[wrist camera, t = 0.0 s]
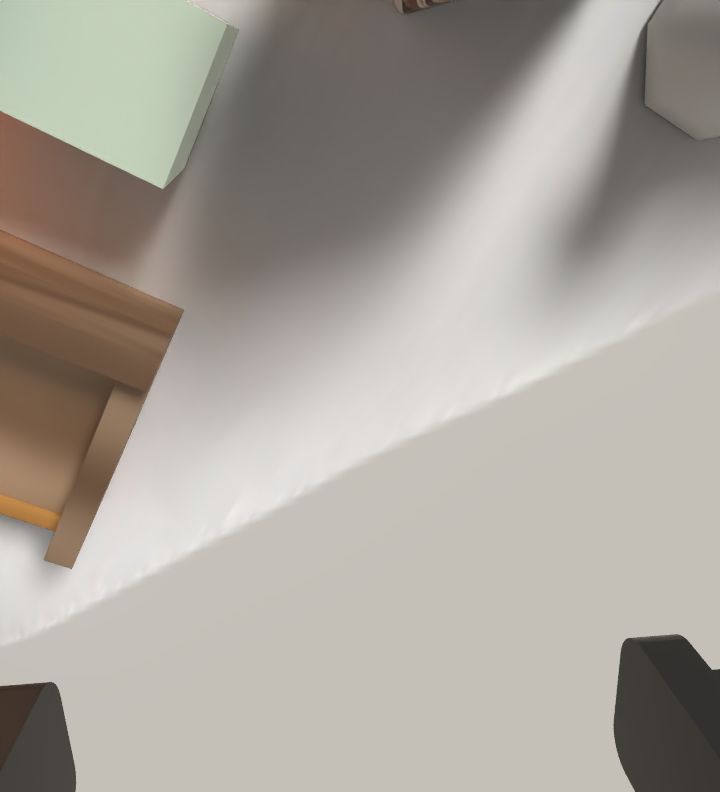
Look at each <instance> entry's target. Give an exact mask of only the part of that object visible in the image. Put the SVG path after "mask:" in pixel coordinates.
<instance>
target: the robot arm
mask: <svg viewBox="0 0 720 792" xmlns="http://www.w3.org/2000/svg"><path fill="white" fill-rule="evenodd" d="M614 737H615V743H616V748H617V751H618V756H619V758H620V762H621V764H622V767H623V769H624V771H625V773H626V775H627V777H628V779H629V781H630V783H631V785H632V786H633V788H634V790H635V792H720V669H718V670H711V668H710V667H709V666H708V665H707V663H706V662H705V661H704V660H703V659H702V658H701V656H700V655H699V654H698V652H697V651H696V650H695V649H694V648H693V646H692V645H691V644H690V643H689V642H688V640H687V639H686V638H684V637H683V636H681V635H677V634H675V635H663V636H650V637H637V638H628V639H626V640H625V641H624V643H623V645H622V648H621V655H620V665H619V675H618V685H617V695H616V705H615V715H614ZM75 790H76V772H75V766H74V760H73V755H72V751H71V746H70V741H69V736H68V731H67V726H66V721H65V716H64V711H63V706H62V702H61V697H60V693H59V690H58V687H57V686H56V684H54V683H52V682H47V683H34V684H22V685H9V686H0V792H75Z"/></svg>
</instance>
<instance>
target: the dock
mask: <svg viewBox="0 0 720 792" xmlns="http://www.w3.org/2000/svg"><path fill="white" fill-rule="evenodd" d="M183 311H184V310H182V309H180V308H177V307H175V306H173V305H170V304H168V303H166V302H164V301H161V300H159V299H157V298H154V297H152V296H150V295H148V294H145V293H143V292H141V291H138V290H136V289H134V288H132V287H129V286H127V285H125V284H122V283H120V282H118V281H116V280H113V279H111V278H109V277H106V276H104V275H102V274H99V273H97V272H95V271H93V270H90V269H88V268H86V267H83V266H81V265H79V264H77V263H74V262H72V261H70V260H67V259H65V258H63V257H61V256H58V255H56V254H54V253H51V252H49V251H47V250H44V249H42V248H40V247H38V246H35V245H33V244H31V243H28V242H26V241H24V240H22V239H19V238H17V237H15V236H12V235H10V234H8V233H6V232H3V231H1V230H0V513H1V514H4V515H7V516H10V517H13V518H16V519H19V520H22V521H25V522H28V523H31V524H34V525H37V526H40V527H44V528H47V529H50V530H53V531H55V533H54V536H53V538H52V540H51V543H50V545H49V548H48V550H47V553H46V555H45V558H44V560H45V561H48V562H51V563H55V564H58V565H61V566H64V567H67V568H70V569H72V567H73V565H74V563H75V561H76V558H77V556H78V554H79V551H80V549H81V547H82V545H83V542H84V540H85V538H86V536H87V533H88V531H89V529H90V527H91V524H92V522H93V520H94V517H95V515H96V513H97V511H98V508H99V506H100V504H101V502H102V499H103V497H104V495H105V492H106V490H107V488H108V485H109V483H110V481H111V478H112V476H113V474H114V471H115V469H116V467H117V464H118V462H119V460H120V457H121V455H122V453H123V450H124V448H125V446H126V443H127V441H128V439H129V436H130V434H131V432H132V429H133V427H134V425H135V423H136V420H137V418H138V416H139V413H140V411H141V409H142V406H143V404H144V402H145V399H146V397H147V395H148V392H149V390H150V388H151V385H152V383H153V381H154V378H155V376H156V374H157V371H158V369H159V367H160V364H161V362H162V360H163V357H164V355H165V353H166V350H167V348H168V346H169V343H170V341H171V339H172V337H173V334H174V332H175V330H176V327H177V325H178V323H179V320H180V318H181V316H182V313H183Z"/></svg>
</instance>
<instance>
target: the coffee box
mask: <svg viewBox="0 0 720 792" xmlns="http://www.w3.org/2000/svg"><path fill="white" fill-rule="evenodd" d="M451 1H454V0H394V3H395V6H396V8H397V10H398V11H399V13H401V14H409V13H412V12H416V11H419V10H423V9H427V8H430V7H434V6H437V5H441V4H445V3H448V2H451Z"/></svg>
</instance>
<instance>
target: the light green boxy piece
mask: <svg viewBox="0 0 720 792" xmlns="http://www.w3.org/2000/svg"><path fill="white" fill-rule="evenodd" d="M238 31H239V29H237V28H235V27H234V26H232V25H230V24H228V23H227V22H225V21H223V20H221V19H219V18H218V17H216V16H214V15H212V14H211V13H209V12H207V11H205V10H203V9H202V8H200V7H198V6H196V5H195V4H193V3H191V2H189V1H188V0H0V111H2V112H4V113H6V114H8V115H10V116H12V117H14V118H16V119H18V120H20V121H22V122H24V123H27V124H29V125H31V126H33V127H35V128H37V129H39V130H41V131H43V132H45V133H47V134H49V135H51V136H53V137H56V138H58V139H60V140H62V141H64V142H66V143H68V144H70V145H72V146H74V147H76V148H78V149H80V150H83V151H85V152H87V153H89V154H91V155H93V156H95V157H97V158H99V159H101V160H103V161H105V162H107V163H110V164H112V165H114V166H116V167H118V168H120V169H122V170H124V171H126V172H128V173H130V174H132V175H134V176H137V177H139V178H141V179H143V180H145V181H147V182H149V183H151V184H153V185H155V186H157V187H159V188H161V189H164V188H165V187H166V186H167V185H168V184H169V183H170V182H171V181H172V180H173V179H174V178H175V177H176V176H177V175H178V174H179V173H180V172H181V171H182V170H183V169H184V167H185V165H186V162H187V160H188V157H189V155H190V152H191V150H192V147H193V145H194V142H195V140H196V137H197V135H198V132H199V130H200V127H201V124H202V122H203V119H204V117H205V114H206V112H207V109H208V107H209V104H210V102H211V99H212V97H213V94H214V92H215V89H216V87H217V84H218V82H219V79H220V77H221V74H222V71H223V69H224V66H225V64H226V61H227V59H228V56H229V54H230V51H231V49H232V46H233V44H234V41H235V39H236V36H237V34H238Z"/></svg>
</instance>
